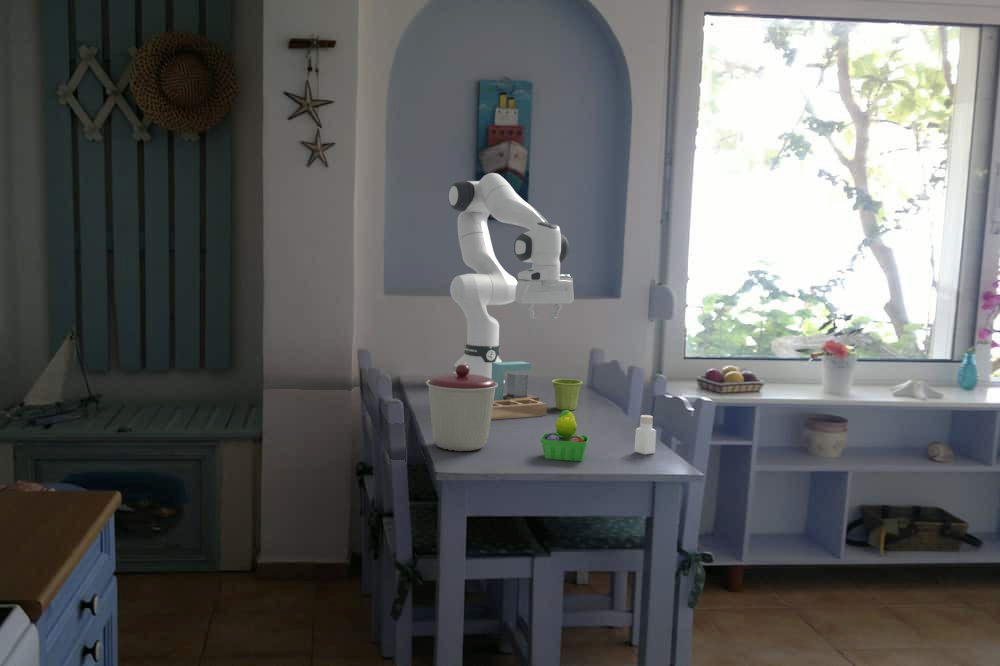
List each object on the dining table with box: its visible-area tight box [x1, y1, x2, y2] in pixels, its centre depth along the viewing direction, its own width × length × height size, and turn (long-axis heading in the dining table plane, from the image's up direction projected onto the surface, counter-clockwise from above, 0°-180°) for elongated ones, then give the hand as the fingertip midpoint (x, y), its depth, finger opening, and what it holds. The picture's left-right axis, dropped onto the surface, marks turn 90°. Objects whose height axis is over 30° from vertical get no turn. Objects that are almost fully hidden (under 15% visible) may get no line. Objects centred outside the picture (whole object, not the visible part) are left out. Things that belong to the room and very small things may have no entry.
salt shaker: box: [634, 414, 657, 455], centre depth 249 cm, size 4×4×10 cm
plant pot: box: [551, 378, 583, 411], centre depth 305 cm, size 9×9×9 cm
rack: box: [491, 398, 548, 421], centre depth 292 cm, size 10×22×4 cm, turn 121°
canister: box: [425, 365, 498, 452], centre depth 247 cm, size 18×18×21 cm
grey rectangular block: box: [506, 372, 529, 398], centre depth 308 cm, size 5×5×10 cm
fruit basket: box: [540, 409, 590, 462], centre depth 241 cm, size 11×9×11 cm
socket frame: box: [503, 392, 540, 402], centre depth 304 cm, size 27×10×3 cm, turn 121°
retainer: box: [491, 360, 532, 401], centre depth 305 cm, size 13×7×12 cm, turn 121°
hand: (544, 318), depth 310 cm, fingers open, 7 cm apart
